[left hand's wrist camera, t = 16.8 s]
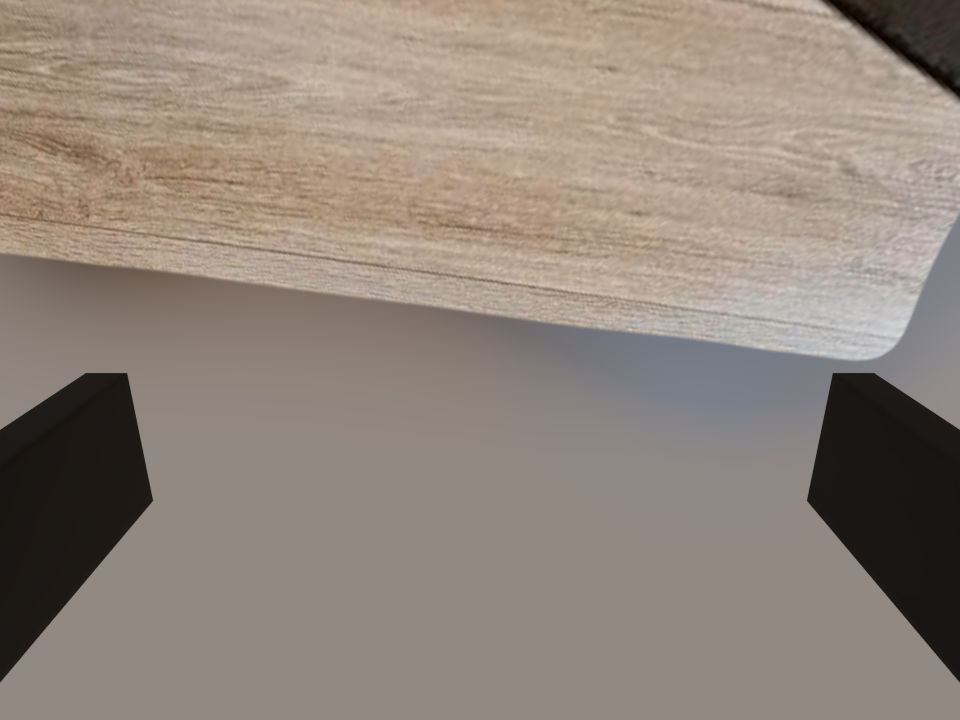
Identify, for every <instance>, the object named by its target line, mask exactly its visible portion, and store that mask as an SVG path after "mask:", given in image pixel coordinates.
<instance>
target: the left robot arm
mask: <svg viewBox="0 0 960 720" xmlns="http://www.w3.org/2000/svg"><path fill="white" fill-rule="evenodd" d="M152 501H153V498H152V493H151V489H150V484H149V479H148V474H147V469H146V464H145V459H144V454H143V449H142V444H141V439H140V434H139V429H138V425H137V420H136V415H135V410H134V405H133V400H132V395H131V390H130V385H129V380H128V375H127V373H85V374H84V375H82V376H81V377H79V378H78V379H76V380H75V381H73V382H72V383H70V384H69V385H67V386H66V387H64V388H63V389H61V390H60V391H58V392H57V393H55V394H54V395H52V396H51V397H49V398H48V399H46V400H45V401H43V402H42V403H40V404H39V405H37V406H36V407H34V408H33V409H31V410H29V411H28V412H27V413H25V414H23V415H22V416H20V417H19V418H17V419H16V420H15V421H13V422H11V423H10V424H8V425H7V426H5V427H4V428H2V429H1V430H0V682H1V681H2V680H3V678H4V677H5V676H6V675H7V674H8V673H9V671H10V670H11V669H12V668H13V667H14V665H15V664H16V663H17V662H18V661H19V659H20V658H21V657H22V656H23V655H24V653H25V652H26V651H27V650H28V649H29V648H30V646H31V645H32V644H33V643H34V642H35V640H36V639H37V638H38V637H39V636H40V634H41V633H42V632H43V631H44V630H45V629H46V627H47V626H48V625H49V624H50V623H51V621H52V620H53V619H54V618H55V617H56V615H57V614H58V613H59V612H60V611H61V610H62V608H63V607H64V606H65V605H66V604H67V602H68V601H69V600H70V599H71V598H72V596H73V595H74V594H75V593H76V592H77V591H78V589H79V588H80V587H81V586H82V585H83V583H84V582H85V581H86V580H87V578H88V577H89V576H90V575H91V574H92V573H93V571H94V570H95V569H96V568H97V567H98V566H99V564H100V563H101V562H102V561H103V560H104V558H105V557H106V556H107V555H108V554H109V552H110V551H111V550H112V549H113V548H114V546H115V545H116V544H117V543H118V542H119V541H120V539H121V538H122V537H123V536H124V535H125V533H126V532H127V531H128V530H129V529H130V527H131V526H132V525H133V524H134V523H135V522H136V520H137V519H138V518H139V517H140V516H141V514H142V513H143V512H144V511H145V510H146V508H147V507H148V506H149V505H150V504H151V503H152ZM807 501H808V502H809V504H810V505H811V506H812V507H813V508H814V510H815V511H816V512H817V513H818V514H819V516H820V517H821V518H822V519H823V520H824V522H825V523H826V524H827V525H828V526H829V527H830V529H831V530H832V531H833V532H834V533H835V535H836V536H837V537H838V538H839V539H840V541H841V542H842V543H843V544H844V545H845V547H846V548H847V549H848V550H849V551H850V552H851V554H852V555H853V556H854V557H855V558H856V560H857V561H858V562H859V563H860V564H861V565H862V567H863V568H864V569H865V570H866V571H867V573H868V574H869V575H870V576H871V577H872V579H873V580H874V581H875V582H876V583H877V585H878V586H879V587H880V588H881V589H882V590H883V592H884V593H885V594H886V595H887V596H888V598H889V599H890V600H891V601H892V602H893V603H894V605H895V606H896V607H897V608H898V609H899V611H900V612H901V613H902V614H903V615H904V617H905V618H906V619H907V620H908V621H909V623H910V624H911V625H912V626H913V627H914V629H915V630H916V631H917V632H918V633H919V634H920V636H921V637H922V638H923V639H924V640H925V642H926V643H927V644H928V645H929V646H930V648H931V649H932V650H933V651H934V652H935V653H936V655H937V656H938V657H939V658H940V659H941V661H942V662H943V663H944V664H945V665H946V667H947V668H948V669H949V670H950V671H951V673H952V674H953V675H954V676H955V677H956V678H957V680H958V681H959V682H960V430H959V429H958V428H956V427H955V426H953V425H952V424H950V423H949V422H947V421H946V420H944V419H943V418H941V417H939V416H938V415H937V414H935V413H934V412H932V411H931V410H929V409H927V408H926V407H924V406H923V405H921V404H920V403H918V402H917V401H915V400H914V399H912V398H911V397H909V396H908V395H906V394H905V393H903V392H902V391H900V390H899V389H897V388H896V387H894V386H893V385H891V384H890V383H888V382H887V381H885V380H884V379H882V378H881V377H879V376H878V375H876V374H875V373H833V375H832V380H831V385H830V390H829V395H828V400H827V405H826V410H825V415H824V420H823V425H822V430H821V435H820V439H819V444H818V449H817V454H816V459H815V464H814V469H813V474H812V479H811V484H810V488H809V493H808V498H807Z"/></svg>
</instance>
